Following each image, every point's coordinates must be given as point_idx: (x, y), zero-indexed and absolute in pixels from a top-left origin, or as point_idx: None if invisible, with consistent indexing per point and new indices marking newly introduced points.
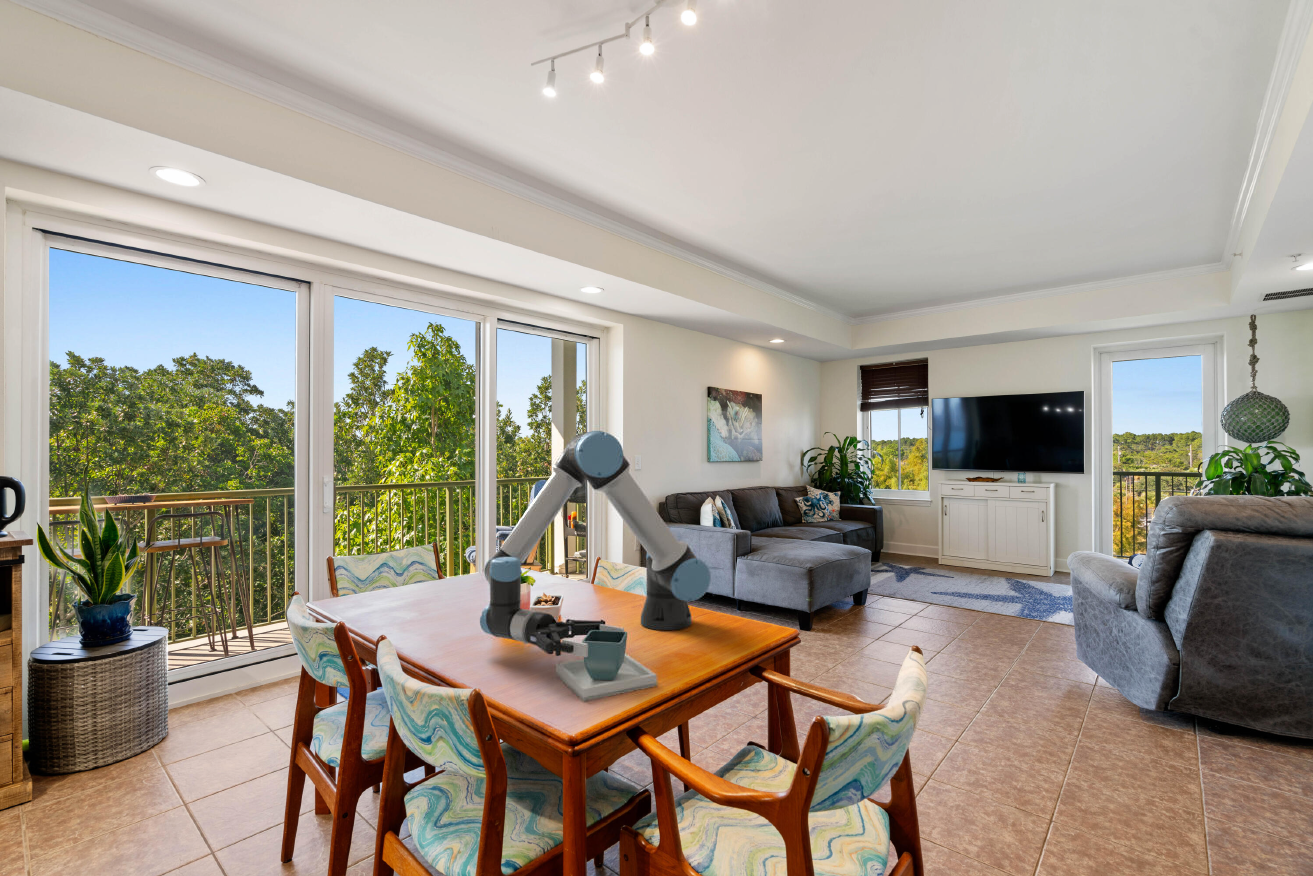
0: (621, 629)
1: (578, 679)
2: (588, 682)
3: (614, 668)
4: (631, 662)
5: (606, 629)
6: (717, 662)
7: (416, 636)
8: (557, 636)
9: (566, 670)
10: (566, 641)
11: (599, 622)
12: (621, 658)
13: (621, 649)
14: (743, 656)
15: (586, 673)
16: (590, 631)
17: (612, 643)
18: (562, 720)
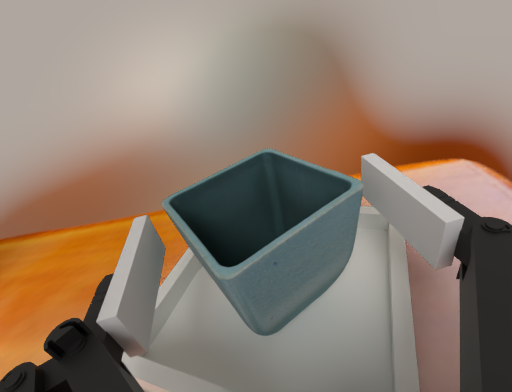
0: (148, 218)
1: (360, 321)
2: (344, 282)
3: (285, 217)
4: (177, 283)
5: (137, 285)
6: (67, 240)
7: None
8: (487, 289)
9: (402, 347)
10: (440, 205)
11: (35, 388)
12: (253, 208)
13: (262, 171)
14: (26, 237)
15: (307, 349)
16: (241, 264)
17: (283, 154)
18: (475, 192)
